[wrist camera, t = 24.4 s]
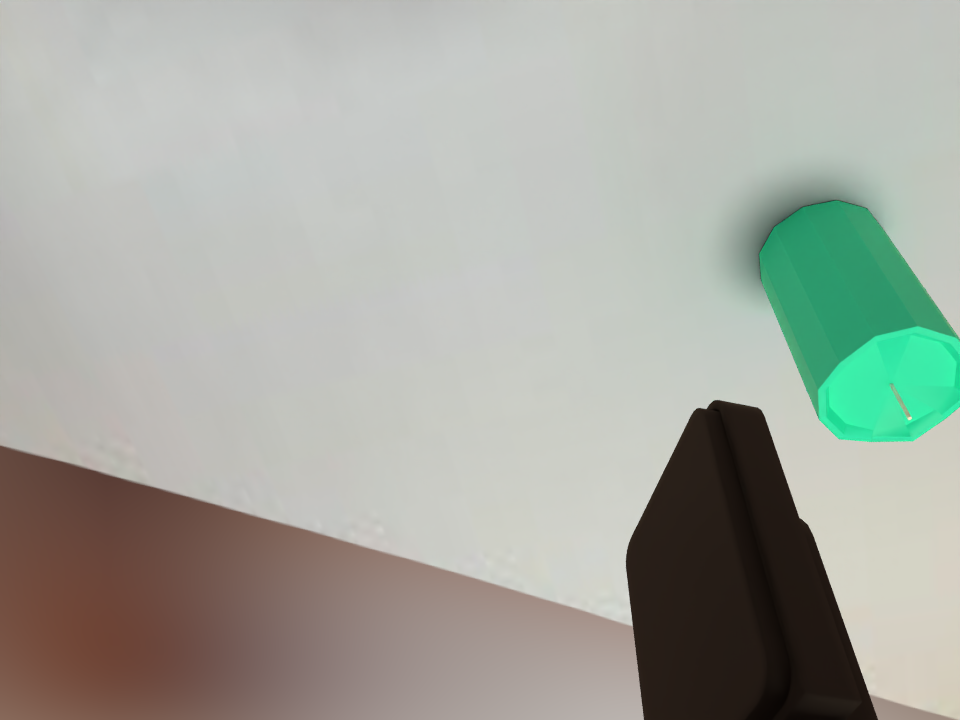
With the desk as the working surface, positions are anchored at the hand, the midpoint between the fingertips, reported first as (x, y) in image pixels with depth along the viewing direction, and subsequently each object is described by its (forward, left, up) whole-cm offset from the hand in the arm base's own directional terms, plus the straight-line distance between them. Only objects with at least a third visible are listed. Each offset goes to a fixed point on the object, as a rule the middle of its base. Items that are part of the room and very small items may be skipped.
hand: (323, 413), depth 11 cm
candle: (+20, -10, -28) cm, 36 cm away
